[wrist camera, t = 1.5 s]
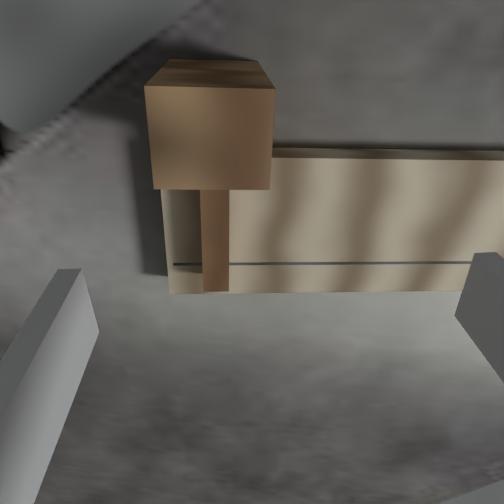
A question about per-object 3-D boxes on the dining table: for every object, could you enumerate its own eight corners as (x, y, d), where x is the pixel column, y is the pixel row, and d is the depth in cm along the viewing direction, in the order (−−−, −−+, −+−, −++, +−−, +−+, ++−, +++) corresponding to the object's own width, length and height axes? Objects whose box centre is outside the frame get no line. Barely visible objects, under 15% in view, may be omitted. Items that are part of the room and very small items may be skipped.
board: (172, 277, 37) (169, 294, 35) (162, 145, 31) (157, 156, 29) (489, 274, 39) (505, 290, 37) (539, 151, 33) (561, 161, 31)
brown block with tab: (182, 258, 36) (168, 347, 27) (170, 58, 28) (143, 85, 19) (250, 257, 37) (260, 345, 27) (257, 61, 28) (275, 89, 19)
